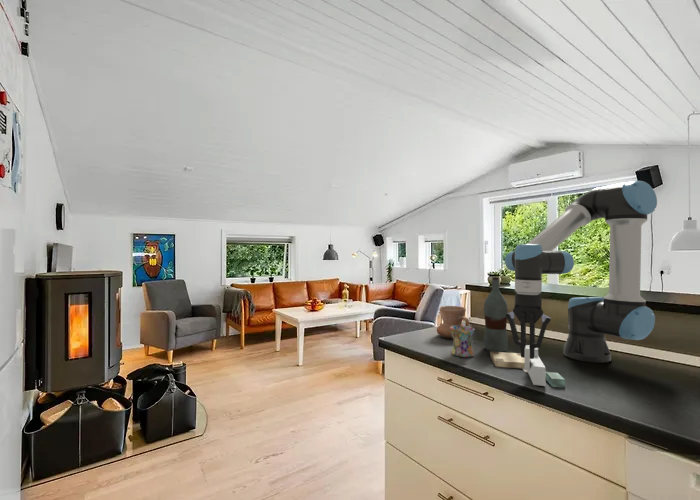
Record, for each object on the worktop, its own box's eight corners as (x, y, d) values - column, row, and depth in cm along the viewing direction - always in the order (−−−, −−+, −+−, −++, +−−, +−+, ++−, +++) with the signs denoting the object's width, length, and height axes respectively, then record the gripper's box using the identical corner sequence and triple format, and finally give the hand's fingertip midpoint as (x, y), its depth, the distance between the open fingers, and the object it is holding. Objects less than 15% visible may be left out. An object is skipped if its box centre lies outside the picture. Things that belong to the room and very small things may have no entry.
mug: (480, 357, 134) (480, 329, 134) (459, 359, 131) (459, 331, 131) (461, 349, 145) (461, 323, 146) (441, 351, 143) (441, 325, 143)
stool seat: (537, 359, 131) (537, 341, 131) (564, 387, 104) (564, 364, 104) (490, 356, 135) (490, 338, 135) (505, 382, 108) (505, 360, 108)
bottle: (479, 348, 146) (479, 277, 147) (491, 345, 152) (490, 276, 152) (501, 353, 139) (500, 278, 139) (512, 349, 145) (511, 277, 145)
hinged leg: (524, 367, 121) (524, 344, 121) (537, 368, 120) (537, 345, 120) (531, 384, 105) (531, 358, 105) (547, 386, 104) (546, 359, 104)
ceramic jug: (428, 335, 170) (428, 306, 170) (450, 331, 177) (450, 303, 177) (455, 344, 155) (456, 312, 154) (479, 340, 162) (479, 309, 161)
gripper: (503, 292, 110) (503, 367, 110) (550, 296, 103) (550, 376, 103) (507, 290, 117) (507, 361, 116) (552, 293, 109) (552, 369, 109)
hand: (527, 368), depth 110 cm, fingers closed
